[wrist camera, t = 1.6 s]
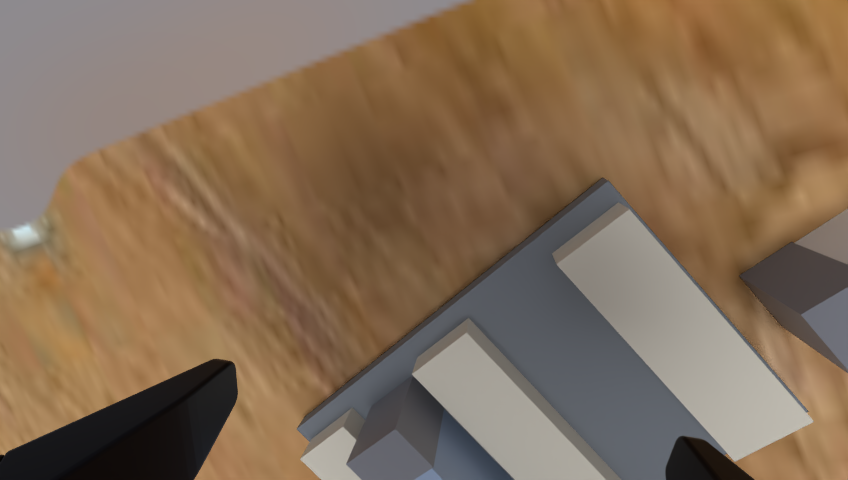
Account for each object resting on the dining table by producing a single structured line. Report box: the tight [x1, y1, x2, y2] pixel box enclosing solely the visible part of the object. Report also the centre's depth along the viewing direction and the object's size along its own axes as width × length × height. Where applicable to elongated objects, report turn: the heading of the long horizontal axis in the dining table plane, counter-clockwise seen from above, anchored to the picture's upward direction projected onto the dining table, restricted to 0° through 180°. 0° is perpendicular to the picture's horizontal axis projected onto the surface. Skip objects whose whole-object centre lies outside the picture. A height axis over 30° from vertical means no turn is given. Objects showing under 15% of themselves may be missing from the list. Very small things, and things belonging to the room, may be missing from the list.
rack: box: [297, 178, 814, 480], centre depth 21 cm, size 14×21×2 cm, turn 134°
